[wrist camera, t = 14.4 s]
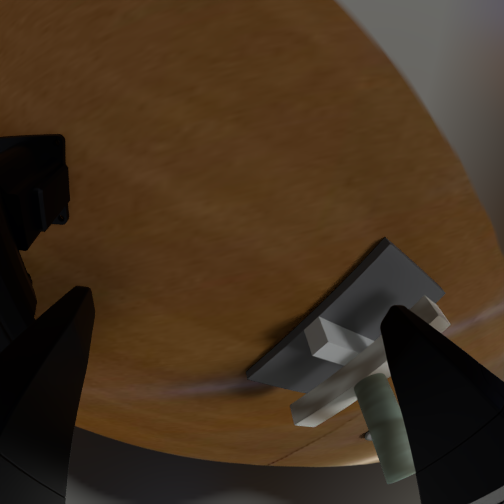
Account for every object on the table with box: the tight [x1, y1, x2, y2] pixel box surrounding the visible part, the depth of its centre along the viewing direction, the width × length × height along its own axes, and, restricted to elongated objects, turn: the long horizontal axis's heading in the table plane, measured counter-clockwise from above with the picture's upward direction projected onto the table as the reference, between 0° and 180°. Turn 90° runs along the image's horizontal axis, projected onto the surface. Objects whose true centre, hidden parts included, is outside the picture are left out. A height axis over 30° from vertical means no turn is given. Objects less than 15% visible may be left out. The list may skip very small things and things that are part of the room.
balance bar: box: [290, 295, 451, 484], centre depth 22 cm, size 18×3×12 cm, turn 144°
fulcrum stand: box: [246, 237, 445, 393], centre depth 29 cm, size 12×20×4 cm, turn 144°
